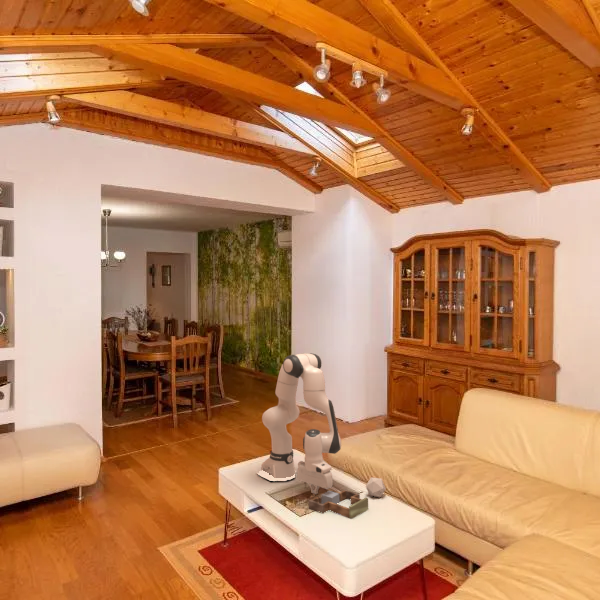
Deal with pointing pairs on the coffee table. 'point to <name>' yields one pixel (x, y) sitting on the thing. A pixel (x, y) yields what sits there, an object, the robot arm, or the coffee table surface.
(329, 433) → the robot arm
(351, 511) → the box
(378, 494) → the die
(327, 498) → the block
